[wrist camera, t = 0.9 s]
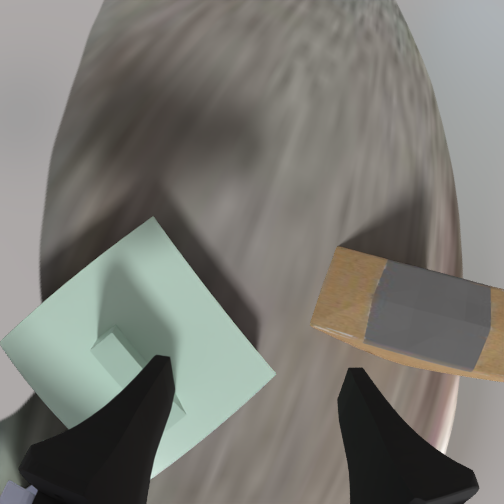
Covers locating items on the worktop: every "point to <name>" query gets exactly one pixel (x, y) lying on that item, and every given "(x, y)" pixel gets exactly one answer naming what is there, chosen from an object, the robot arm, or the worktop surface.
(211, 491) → the worktop surface
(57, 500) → the robot arm
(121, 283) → the lid
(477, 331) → the sandwich container
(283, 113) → the worktop surface
